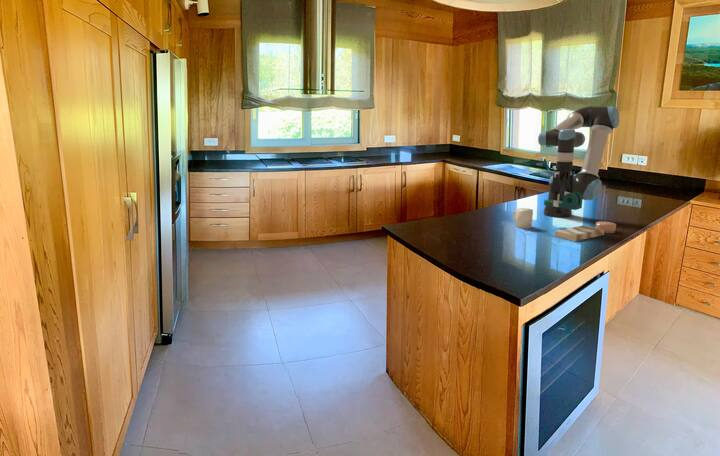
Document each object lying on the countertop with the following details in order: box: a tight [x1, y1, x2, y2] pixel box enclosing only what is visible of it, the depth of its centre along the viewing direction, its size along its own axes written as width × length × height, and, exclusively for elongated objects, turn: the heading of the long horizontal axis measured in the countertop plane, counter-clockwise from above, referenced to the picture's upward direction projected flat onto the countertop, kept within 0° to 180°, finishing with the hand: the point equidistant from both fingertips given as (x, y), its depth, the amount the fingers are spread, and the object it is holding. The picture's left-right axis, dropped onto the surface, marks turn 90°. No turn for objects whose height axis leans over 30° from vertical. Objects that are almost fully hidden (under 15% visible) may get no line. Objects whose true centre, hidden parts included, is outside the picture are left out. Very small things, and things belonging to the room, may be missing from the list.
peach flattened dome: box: [595, 221, 617, 234], centre depth 249 cm, size 9×9×4 cm
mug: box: [512, 207, 534, 230], centre depth 259 cm, size 8×11×9 cm
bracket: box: [543, 192, 583, 211], centre depth 255 cm, size 18×7×8 cm, turn 42°
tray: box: [554, 225, 605, 242], centre depth 241 cm, size 22×11×3 cm, turn 121°
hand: (561, 205), depth 256 cm, fingers closed on bracket, 7 cm apart
